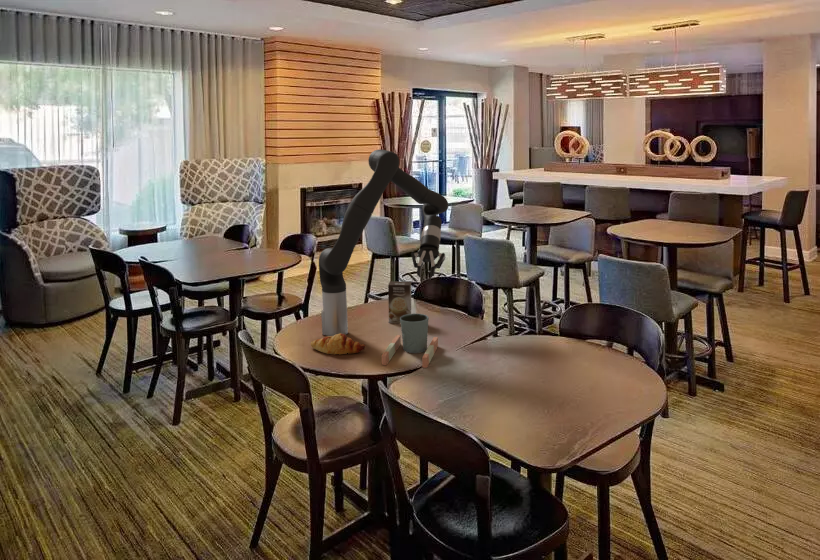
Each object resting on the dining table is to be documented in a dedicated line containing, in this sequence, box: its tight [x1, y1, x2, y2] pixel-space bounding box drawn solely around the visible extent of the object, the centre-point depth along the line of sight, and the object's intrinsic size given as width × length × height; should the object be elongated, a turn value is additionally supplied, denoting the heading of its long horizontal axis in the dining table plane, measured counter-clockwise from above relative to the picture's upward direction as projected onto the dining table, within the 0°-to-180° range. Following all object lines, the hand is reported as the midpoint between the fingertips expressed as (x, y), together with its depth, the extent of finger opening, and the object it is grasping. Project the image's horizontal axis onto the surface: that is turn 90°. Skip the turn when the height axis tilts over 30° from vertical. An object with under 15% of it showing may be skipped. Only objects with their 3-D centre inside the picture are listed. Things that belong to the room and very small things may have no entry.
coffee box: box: [387, 281, 412, 324], centre depth 274 cm, size 9×6×16 cm
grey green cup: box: [399, 313, 429, 354], centre depth 240 cm, size 10×10×12 cm
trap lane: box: [381, 334, 439, 369], centre depth 235 cm, size 15×22×4 cm
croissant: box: [310, 333, 366, 355], centre depth 241 cm, size 21×10×8 cm
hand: (425, 276), depth 257 cm, fingers open, 4 cm apart
